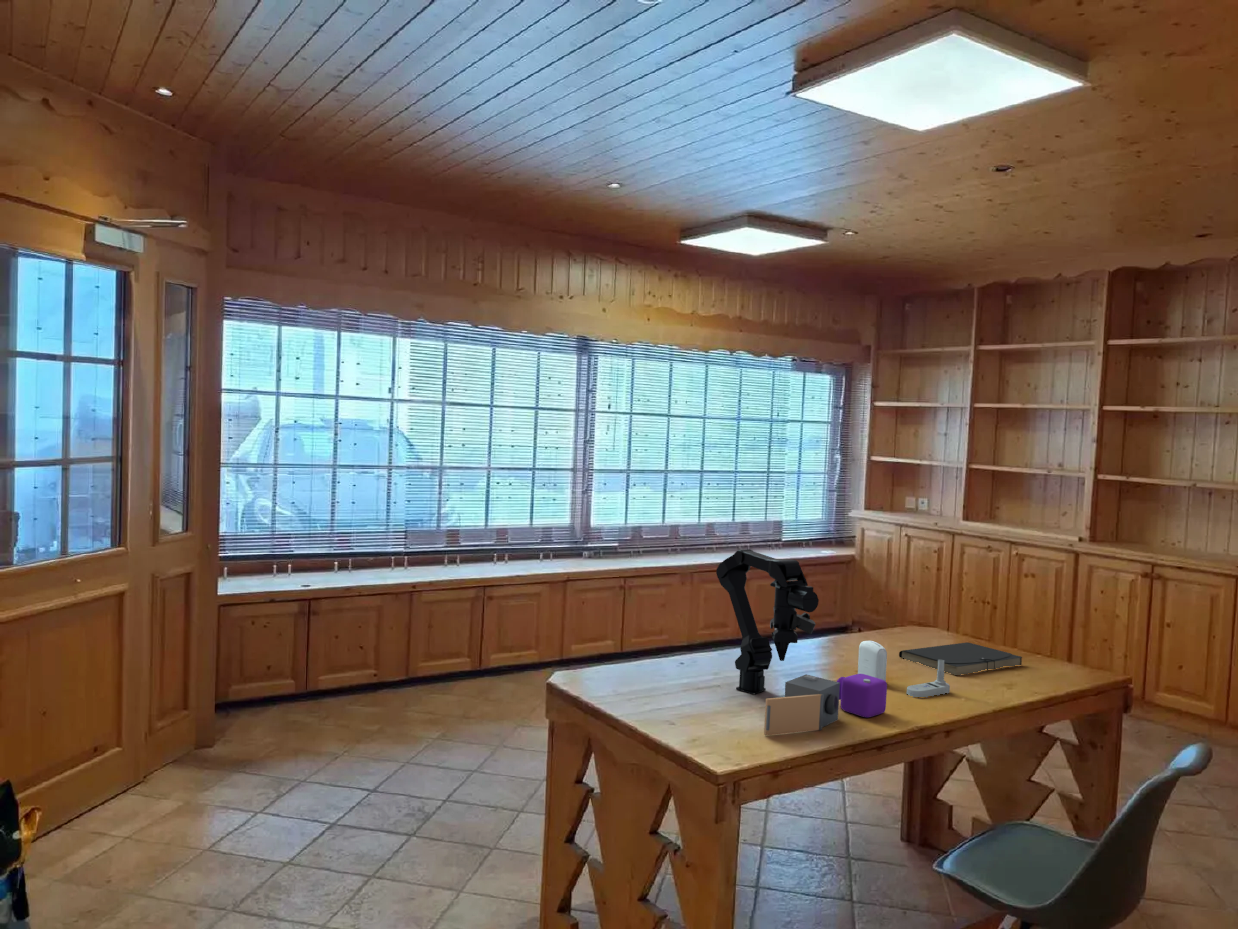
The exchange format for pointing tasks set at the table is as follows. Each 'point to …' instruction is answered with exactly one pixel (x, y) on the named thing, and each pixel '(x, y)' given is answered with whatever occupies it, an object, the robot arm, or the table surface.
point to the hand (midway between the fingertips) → (781, 660)
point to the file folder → (961, 657)
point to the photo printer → (872, 659)
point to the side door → (793, 714)
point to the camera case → (817, 686)
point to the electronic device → (931, 685)
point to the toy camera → (863, 695)
